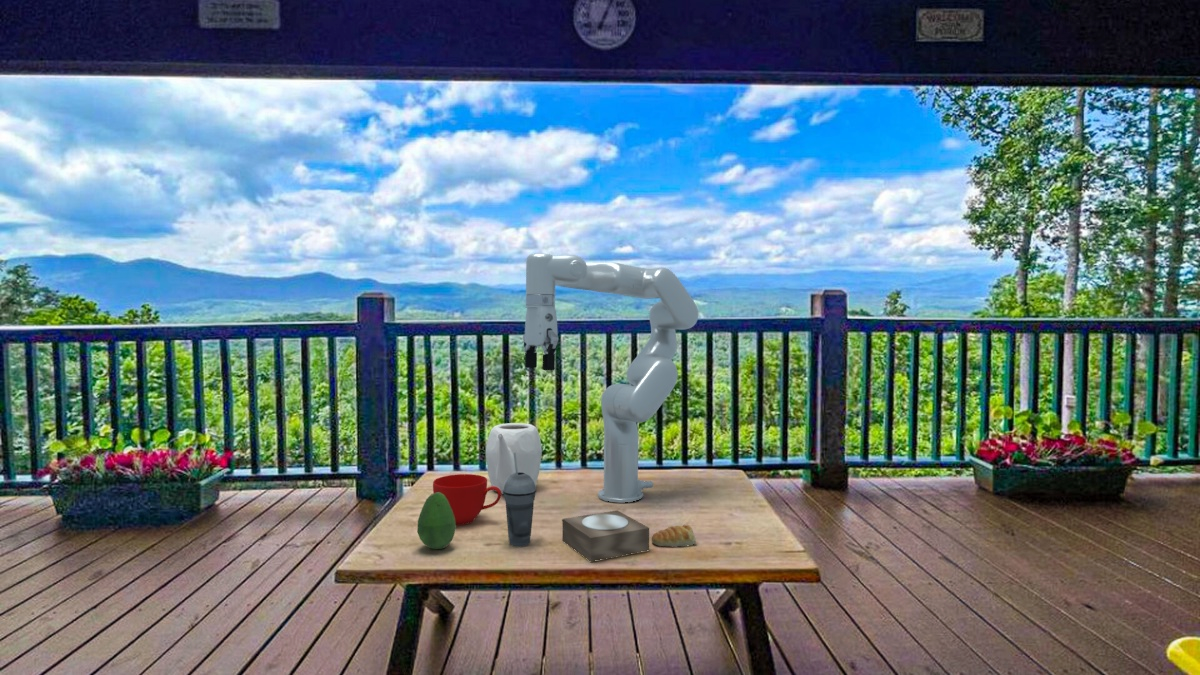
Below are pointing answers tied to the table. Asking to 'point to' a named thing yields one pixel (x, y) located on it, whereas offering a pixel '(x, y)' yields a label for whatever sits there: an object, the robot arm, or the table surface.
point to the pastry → (674, 536)
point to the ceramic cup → (465, 495)
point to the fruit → (436, 522)
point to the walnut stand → (605, 535)
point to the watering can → (512, 452)
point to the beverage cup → (519, 507)
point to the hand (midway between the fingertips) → (539, 368)
